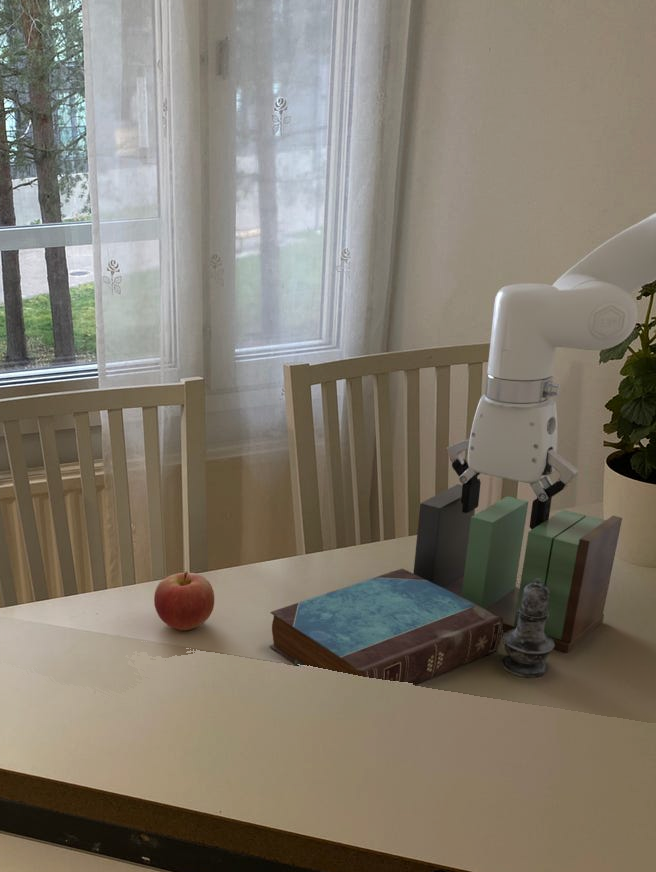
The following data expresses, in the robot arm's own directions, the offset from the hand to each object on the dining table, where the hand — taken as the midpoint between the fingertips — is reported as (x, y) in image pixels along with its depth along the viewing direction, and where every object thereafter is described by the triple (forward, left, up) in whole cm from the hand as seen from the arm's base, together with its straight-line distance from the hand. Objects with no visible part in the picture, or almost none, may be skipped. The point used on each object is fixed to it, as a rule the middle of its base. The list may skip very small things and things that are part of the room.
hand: (502, 517), depth 120 cm
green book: (0, +1, -12) cm, 12 cm away
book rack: (-1, 0, -13) cm, 13 cm away
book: (+4, +20, -13) cm, 25 cm away
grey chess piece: (-11, +12, -13) cm, 21 cm away
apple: (+27, +32, -13) cm, 44 cm away
